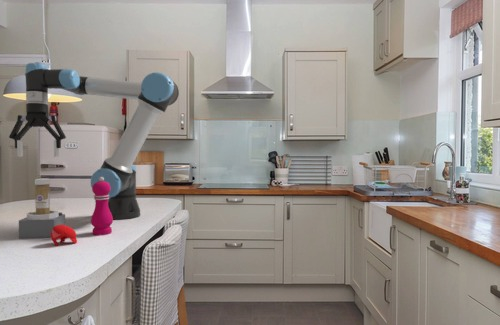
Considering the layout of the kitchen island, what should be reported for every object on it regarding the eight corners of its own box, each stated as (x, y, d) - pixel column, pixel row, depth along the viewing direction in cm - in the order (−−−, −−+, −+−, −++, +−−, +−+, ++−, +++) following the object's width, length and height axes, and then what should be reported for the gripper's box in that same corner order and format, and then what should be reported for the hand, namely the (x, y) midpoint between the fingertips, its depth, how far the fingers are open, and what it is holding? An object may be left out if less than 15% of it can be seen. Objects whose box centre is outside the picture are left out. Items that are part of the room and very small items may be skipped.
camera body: (65, 230, 131) (65, 209, 131) (54, 237, 121) (53, 214, 121) (33, 231, 130) (32, 210, 129) (19, 238, 120) (18, 215, 119)
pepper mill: (117, 231, 129) (116, 176, 128) (103, 236, 122) (102, 177, 122) (101, 230, 131) (100, 175, 131) (86, 234, 125) (85, 177, 124)
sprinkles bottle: (34, 218, 122) (33, 179, 122) (37, 216, 127) (36, 178, 126) (49, 217, 124) (48, 179, 123) (51, 215, 128) (51, 178, 128)
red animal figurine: (44, 237, 108) (61, 226, 108) (49, 226, 114) (65, 216, 114) (62, 254, 112) (79, 244, 112) (66, 243, 117) (82, 234, 117)
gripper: (-2, 101, 138) (-1, 156, 138) (66, 102, 141) (67, 156, 142) (8, 104, 145) (9, 156, 146) (73, 105, 148) (74, 156, 149)
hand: (38, 156), depth 144 cm, fingers open, 13 cm apart
